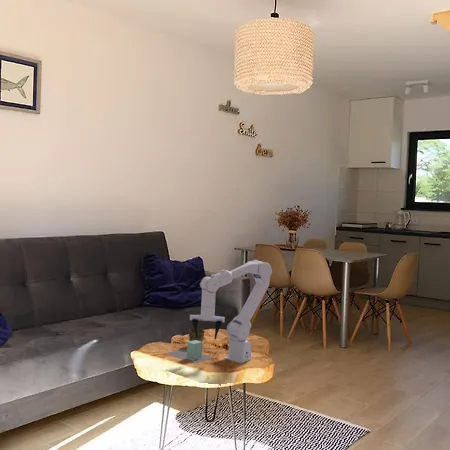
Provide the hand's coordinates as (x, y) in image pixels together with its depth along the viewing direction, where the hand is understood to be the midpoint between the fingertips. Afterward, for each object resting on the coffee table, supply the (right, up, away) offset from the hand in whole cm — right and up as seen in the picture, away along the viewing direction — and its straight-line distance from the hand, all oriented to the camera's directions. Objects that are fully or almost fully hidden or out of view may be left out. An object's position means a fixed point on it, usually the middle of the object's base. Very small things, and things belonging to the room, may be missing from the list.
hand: (206, 338), depth 227 cm
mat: (-8, -10, +8) cm, 15 cm away
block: (-5, -10, +5) cm, 12 cm away
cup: (-6, -9, +23) cm, 25 cm away
